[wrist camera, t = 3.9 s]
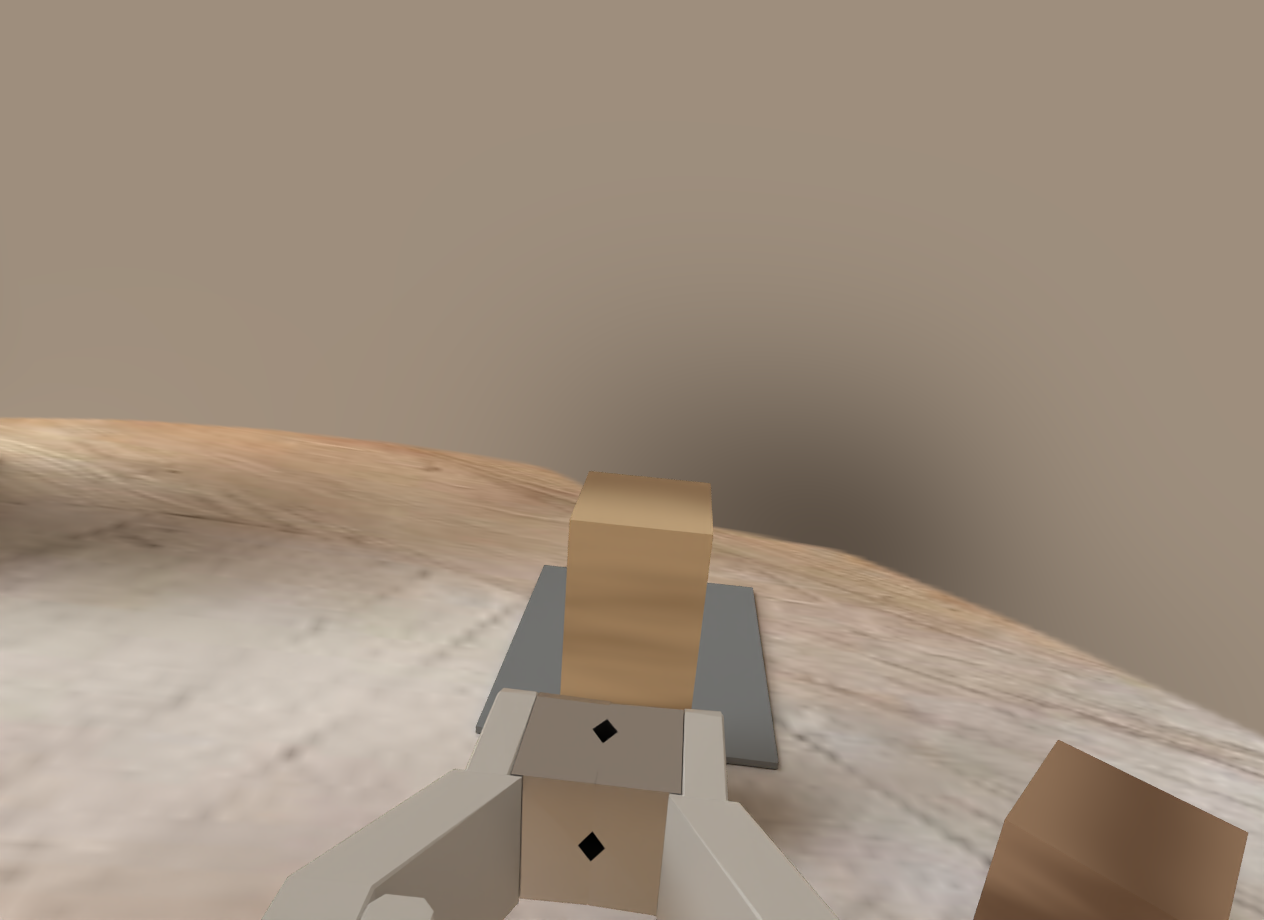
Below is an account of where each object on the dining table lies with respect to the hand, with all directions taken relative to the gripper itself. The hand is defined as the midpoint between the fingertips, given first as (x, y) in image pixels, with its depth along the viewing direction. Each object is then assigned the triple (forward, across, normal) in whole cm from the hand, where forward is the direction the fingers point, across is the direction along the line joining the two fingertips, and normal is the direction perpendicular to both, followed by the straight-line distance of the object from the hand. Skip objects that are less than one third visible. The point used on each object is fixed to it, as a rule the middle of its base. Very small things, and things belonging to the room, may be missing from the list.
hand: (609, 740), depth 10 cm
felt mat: (+23, 0, +13) cm, 26 cm away
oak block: (+13, 0, +13) cm, 18 cm away
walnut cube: (+10, -14, +14) cm, 22 cm away
